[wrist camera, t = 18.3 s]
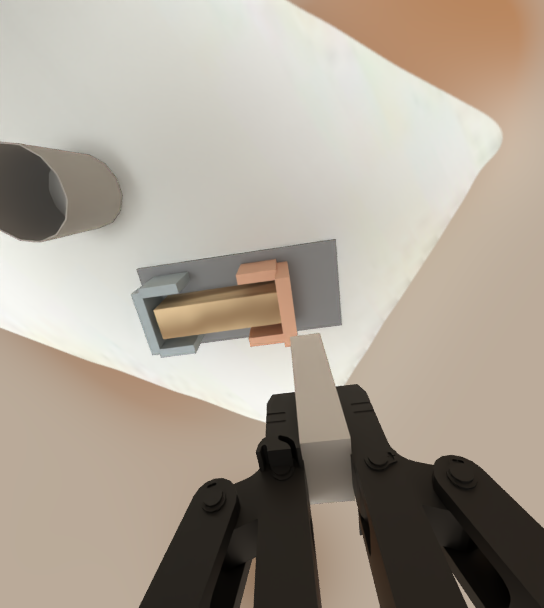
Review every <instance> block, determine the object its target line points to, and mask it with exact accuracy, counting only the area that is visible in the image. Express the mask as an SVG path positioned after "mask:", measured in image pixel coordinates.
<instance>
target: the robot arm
mask: <svg viewBox="0 0 544 608" xmlns="http://www.w3.org/2000/svg"><path fill="white" fill-rule="evenodd" d="M290 341H291V352H292V363H293V374H294V386H295V392H292V393H283V394H274V395H272V396H271V398H270V400H269V401H268V403H267V416H266V437H265V438H264V439H262V441H261V442H260V443H259V445H258V447H257V450H256V455H257V459H258V463H259V468H260V469H259V470H258V471H257V472H256V473H255V474H253V475H252V476H251V477H249V478H247V479H245V480H243V481H240V482H238V483H235V484H233V483H232V482H231V481H229V480H227V479H224V478H218V479H213V480H211V481H208V482H206V483H205V484H204V485H203V486H201V487H200V488H199V489H198V491H197V492H196V494H195V495H194V496H193V499H192V501H191V503H190V505H189V507H188V509H187V511H186V513H185V515H184V517H183V519H182V521H181V523H180V525H179V527H178V529H177V531H176V533H175V535H174V537H173V539H172V541H171V543H170V545H169V547H168V550H167V552H166V553H165V555H164V558H163V560H162V562H161V563H160V566H159V568H158V570H157V572H156V574H155V576H154V578H153V580H152V582H151V584H150V586H149V588H148V590H147V592H146V594H145V596H144V598H143V600H142V602H141V604H140V606H139V608H240V603H241V600H242V596H243V593H244V589H245V585H246V581H247V577H248V573H249V569H250V565H251V562H252V559H253V558H255V557H256V570H255V589H254V608H322V606H321V597H320V588H319V579H318V570H317V560H316V551H315V542H314V533H313V524H312V518H311V510H310V504H321V503H333V502H345V501H355V498H356V502H357V506H358V512H359V529H360V535H363V538H364V542H365V546H366V551H367V555H368V559H369V563H370V567H371V571H372V575H373V579H374V584H375V588H376V592H377V596H378V600H379V604H380V608H468V607H467V604H466V602H465V600H464V598H463V596H462V593H461V591H460V589H459V587H458V584H457V582H456V580H455V578H454V576H453V574H454V575H455V577H456V579H457V580H458V582H459V583H460V585H461V586H462V588H463V589H464V591H465V592H466V594H467V595H468V597H469V598H470V600H471V601H472V603H473V604H474V606H475V607H476V608H544V528H543V527H541V525H540V524H539V523H537V522H536V521H535V520H534V519H533V518H532V517H531V516H530V515H529V514H528V513H527V512H526V511H525V510H524V509H523V508H522V507H521V506H520V505H519V504H518V503H517V502H516V501H515V500H514V499H513V498H512V497H511V496H510V495H509V494H508V493H506V492H505V490H503V489H502V488H501V487H500V486H499V485H498V484H497V483H496V482H495V481H494V480H493V479H492V478H491V477H490V476H489V475H488V474H487V473H486V472H485V471H484V470H483V469H482V468H480V467H479V466H478V465H476V464H475V463H474V462H473V461H470V460H468V459H466V458H463V457H460V456H454V455H447V456H442V457H440V458H439V459H437V460H436V461H435V463H434V465H430V464H425V463H420V462H415V461H412V460H408V459H406V458H404V457H402V456H400V455H399V454H398V453H397V452H396V451H395V450H393V449H392V448H391V447H390V445H389V443H388V441H387V439H386V437H385V435H384V432H383V430H382V428H381V425H380V423H379V421H378V418H377V416H376V414H375V412H374V409H373V407H372V405H371V403H370V400H369V398H368V395H367V393H366V391H364V390H363V389H362V388H361V387H360V386H359V385H357V384H354V385H346V386H337V387H336V386H335V383H334V380H333V376H332V373H331V369H330V366H329V363H328V359H327V356H326V352H325V349H324V346H323V342H322V339H321V335H320V333H316V334H308V335H300V336H293V337H290Z"/></svg>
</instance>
